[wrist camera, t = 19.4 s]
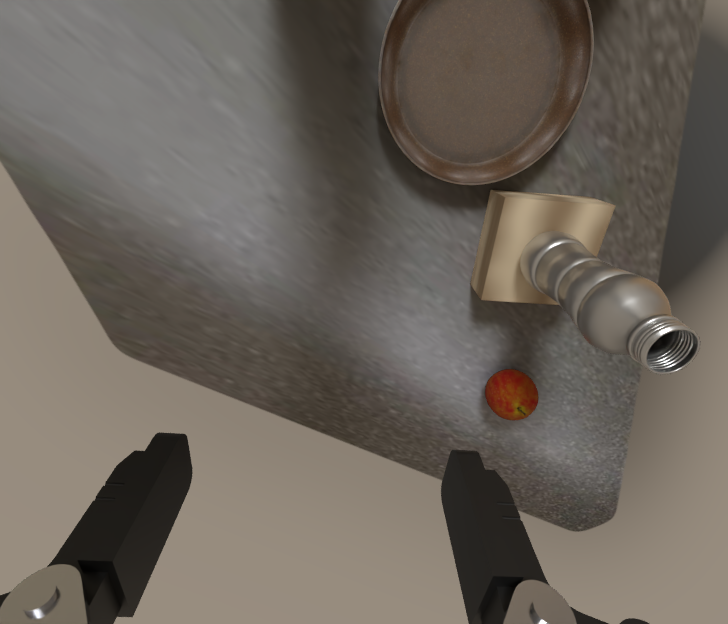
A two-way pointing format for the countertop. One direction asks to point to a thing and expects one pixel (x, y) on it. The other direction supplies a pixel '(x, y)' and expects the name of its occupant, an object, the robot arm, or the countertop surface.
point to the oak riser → (530, 238)
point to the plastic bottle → (609, 303)
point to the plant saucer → (483, 82)
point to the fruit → (511, 394)
